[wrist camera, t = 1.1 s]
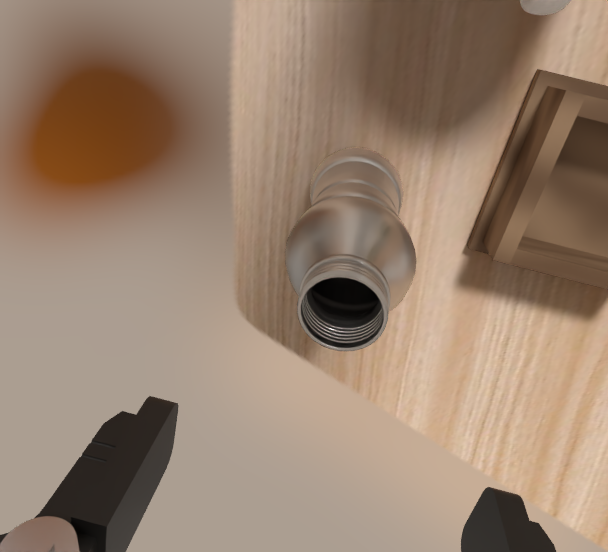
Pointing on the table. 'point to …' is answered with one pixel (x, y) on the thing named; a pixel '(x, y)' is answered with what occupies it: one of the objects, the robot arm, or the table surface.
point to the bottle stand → (552, 185)
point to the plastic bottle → (350, 250)
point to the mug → (543, 6)
